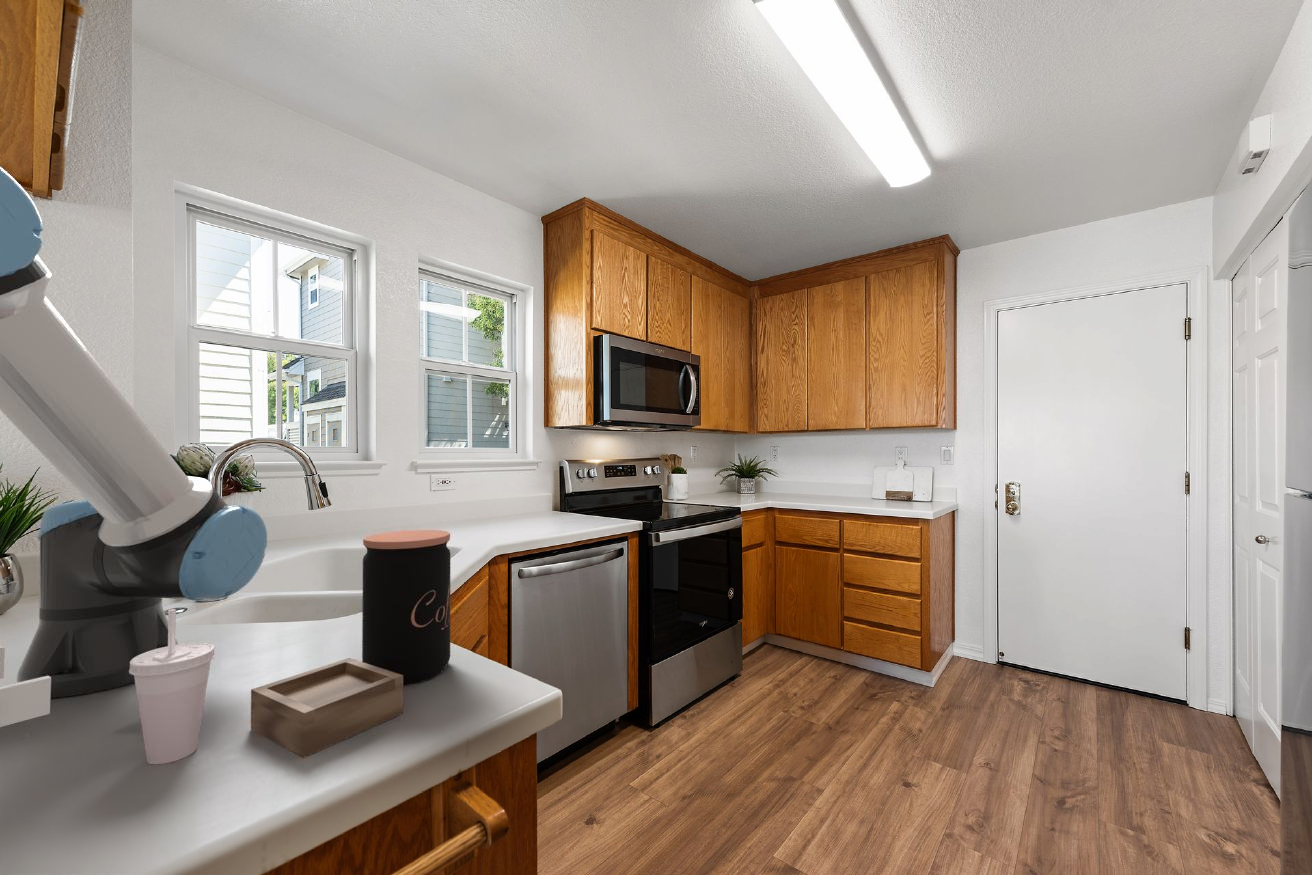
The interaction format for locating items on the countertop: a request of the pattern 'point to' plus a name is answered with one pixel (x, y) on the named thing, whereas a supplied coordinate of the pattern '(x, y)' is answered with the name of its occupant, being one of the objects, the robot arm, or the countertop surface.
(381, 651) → the coffee jar
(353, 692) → the wooden tray
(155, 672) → the smoothie
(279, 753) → the countertop surface
